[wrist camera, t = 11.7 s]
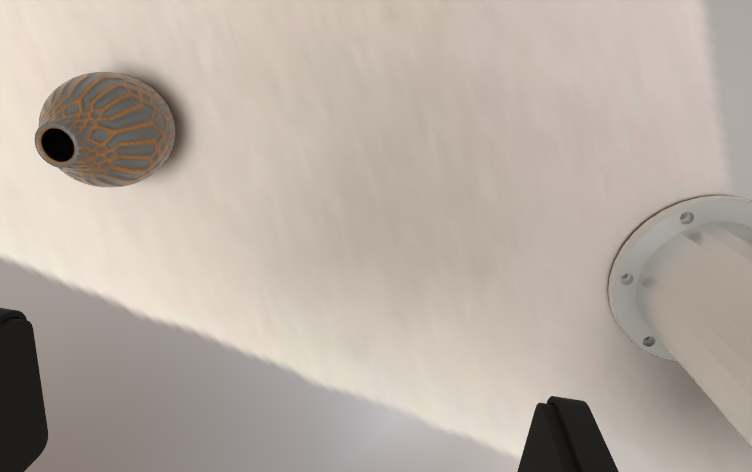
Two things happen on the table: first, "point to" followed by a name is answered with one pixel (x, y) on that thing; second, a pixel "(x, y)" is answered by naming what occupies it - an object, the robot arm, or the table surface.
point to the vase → (105, 129)
